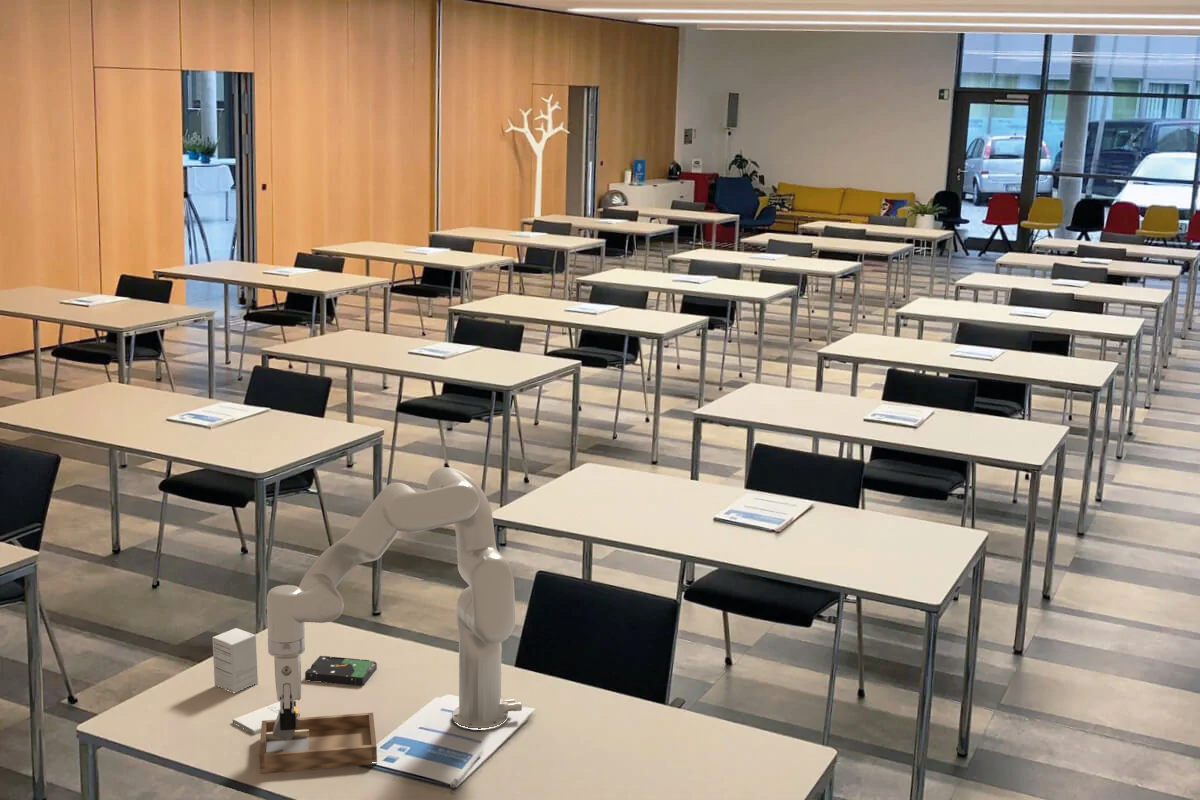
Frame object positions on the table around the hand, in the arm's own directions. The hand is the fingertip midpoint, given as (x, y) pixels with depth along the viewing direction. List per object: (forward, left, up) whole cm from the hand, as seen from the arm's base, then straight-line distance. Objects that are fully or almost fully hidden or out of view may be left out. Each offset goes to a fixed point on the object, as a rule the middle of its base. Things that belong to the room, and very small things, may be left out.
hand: (288, 723), depth 280 cm
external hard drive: (+5, -17, -8) cm, 19 cm away
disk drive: (-12, -38, -8) cm, 40 cm away
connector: (+1, 0, -2) cm, 3 cm away
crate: (-6, 0, -7) cm, 9 cm away
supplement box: (+13, -36, -7) cm, 39 cm away
